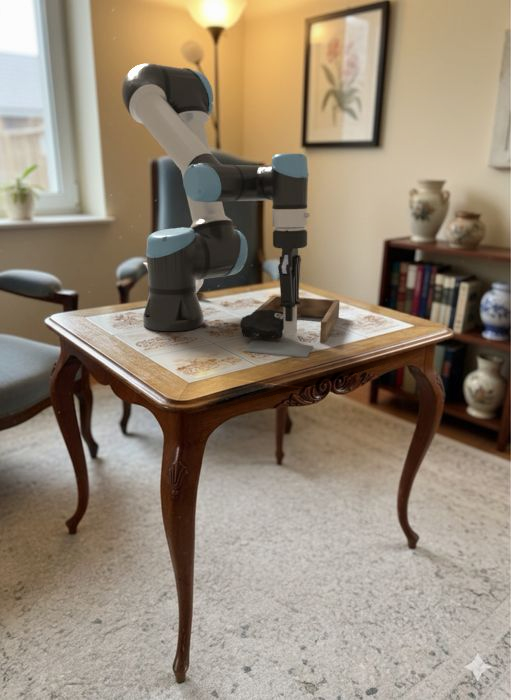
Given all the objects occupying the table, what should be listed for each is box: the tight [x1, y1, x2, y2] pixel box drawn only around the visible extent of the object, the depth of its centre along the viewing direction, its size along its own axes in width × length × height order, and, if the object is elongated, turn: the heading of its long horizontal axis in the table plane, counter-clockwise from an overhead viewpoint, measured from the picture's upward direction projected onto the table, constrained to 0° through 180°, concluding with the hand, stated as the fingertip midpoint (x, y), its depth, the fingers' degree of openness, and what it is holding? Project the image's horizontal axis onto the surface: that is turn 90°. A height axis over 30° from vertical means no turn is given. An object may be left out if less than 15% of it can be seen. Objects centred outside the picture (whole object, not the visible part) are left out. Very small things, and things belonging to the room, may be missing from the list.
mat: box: [242, 339, 314, 359], centre depth 119 cm, size 14×8×1 cm, turn 74°
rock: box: [239, 310, 284, 340], centre depth 124 cm, size 8×11×10 cm
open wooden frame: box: [252, 295, 340, 344], centre depth 136 cm, size 18×24×5 cm
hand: (290, 333), depth 124 cm, fingers closed, pressing on rock
